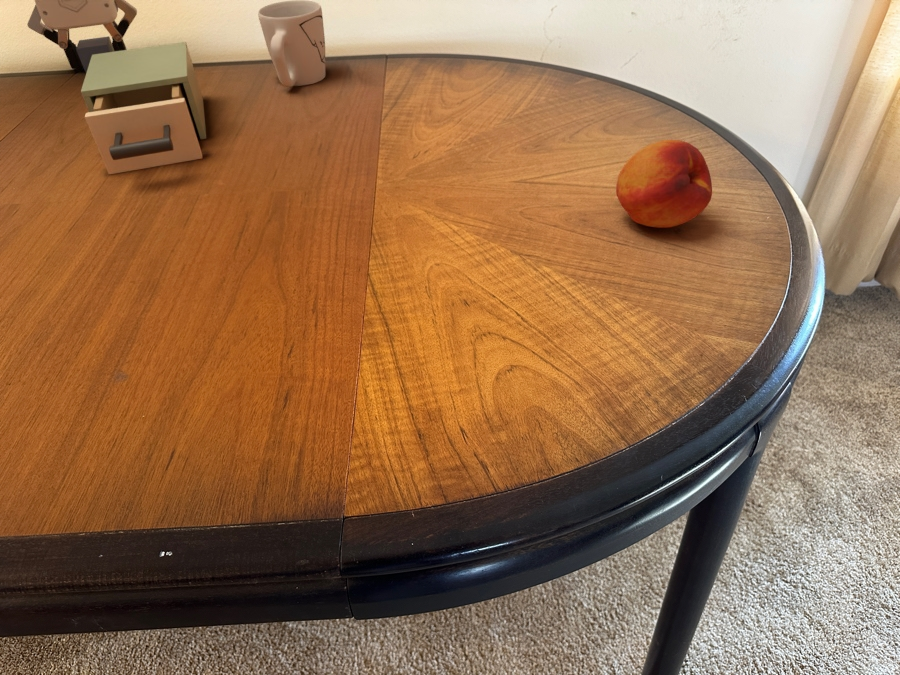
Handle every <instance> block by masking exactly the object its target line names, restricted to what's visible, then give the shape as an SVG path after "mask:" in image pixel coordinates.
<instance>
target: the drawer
mask: <svg viewBox="0 0 900 675" xmlns="http://www.w3.org/2000/svg"><path fill="white" fill-rule="evenodd" d="M93 110H94V112H89V111H88V112H85V115H84V120H85V122H86V124H87V126H88V128H89V131H90V133H91V135H92V138H93V141H94V142H95V145H96V148H97V149H98V152H99V154H100V156H101V160H102V161H103V164H104V166H105V169H106V171H107V173H108V175H114V174H119V173H127V172H131V171H137V170H142V169H143V170H145V169H150V168H154V167H155V168H156V167H161V166H167V165H172V164H178V163H183V162H184V163H185V162H188V161H195V160H201V159H203V153H202V152H203V151H202V149H201V146H200V142H199V140H198V137H197V132H196V124H195V120H194V117H193V114H192V111H191V108H190V104H189V101H188V98H187V95H186V92H185V88H184V85H183V83H177V84H171V85H164V86H157V87H150V88H144V89H137V90H130V91H124V92H117V93H110V94H103V95H97V96H96V100H95V104H94V108H93Z"/></svg>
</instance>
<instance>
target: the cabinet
mask: <svg viewBox="0 0 900 675" xmlns="http://www.w3.org/2000/svg"><path fill="white" fill-rule="evenodd" d="M85 73H86V74H85V77H84V80H83V83H82V87H81V89H80V93H81V97H82V99H83V101H84V104H85V106H86V108H87V110H88V112H94V110H93V108H94V104H95V100H96V96H97V95H103V94H110V93H117V92H124V91H130V90H137V89H144V88H150V87H157V86H164V85H171V84H177V83H183V85H184V88H185V92H186V95H187V98H188V101H189V104H190V108H191V111H192V114H193V117H194V120H195V128H196V130H197V133H198V136H199V140H204V139H207V130H206V129H207V128H206V117H205V106H204V105H205V104H204V97H203V95H202V91H201V87H200V85H199V81H198V77H197V74H196V71H195V67H194V64H193V60H192V57H191V54H190V50H189V48H188V44H187V42H186V41H182V42H174V43H167V44H166V43H165V44H160V45H159V44H158V45H152V46H146V47H139V48H131V49H126V50H123V51H115V52H108V53H101V54H93V55H92V57H91V60H90V63H89V67H88V70H87V72H85Z"/></svg>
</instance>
